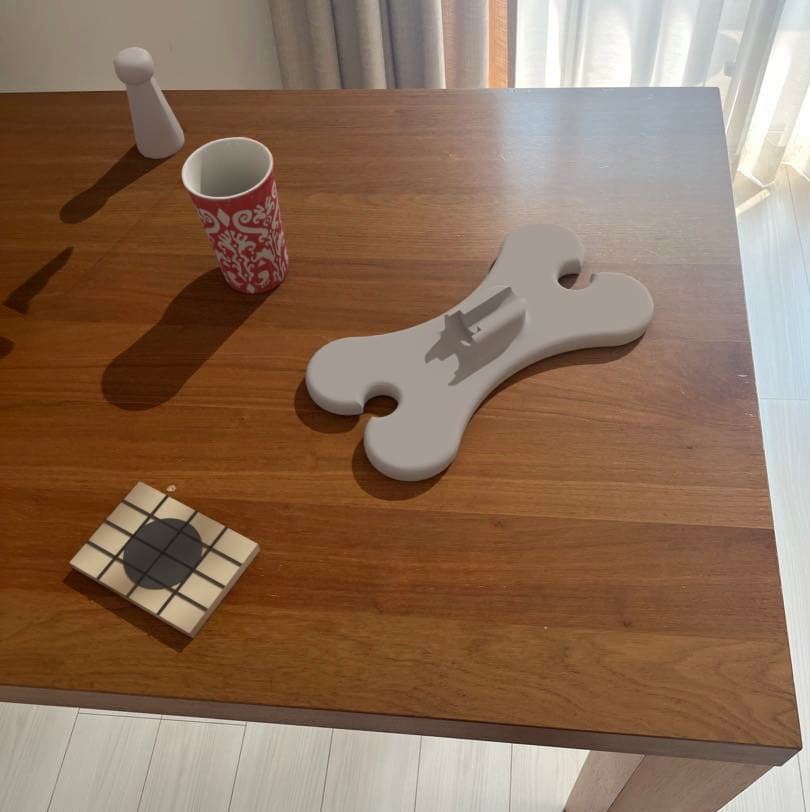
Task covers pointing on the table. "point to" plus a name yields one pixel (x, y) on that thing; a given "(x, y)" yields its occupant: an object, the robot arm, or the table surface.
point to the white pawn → (148, 105)
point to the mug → (239, 211)
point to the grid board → (166, 558)
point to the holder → (475, 348)
